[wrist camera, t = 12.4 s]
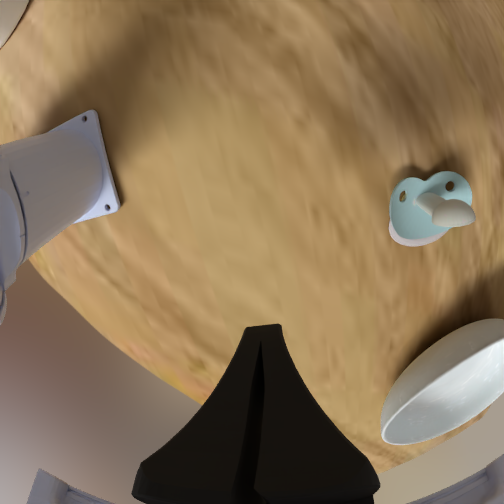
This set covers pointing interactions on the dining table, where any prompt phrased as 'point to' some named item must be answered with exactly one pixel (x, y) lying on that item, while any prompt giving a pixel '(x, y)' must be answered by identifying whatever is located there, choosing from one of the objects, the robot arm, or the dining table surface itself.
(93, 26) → the dining table surface
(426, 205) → the pacifier
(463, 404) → the serving bowl
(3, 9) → the white jar
